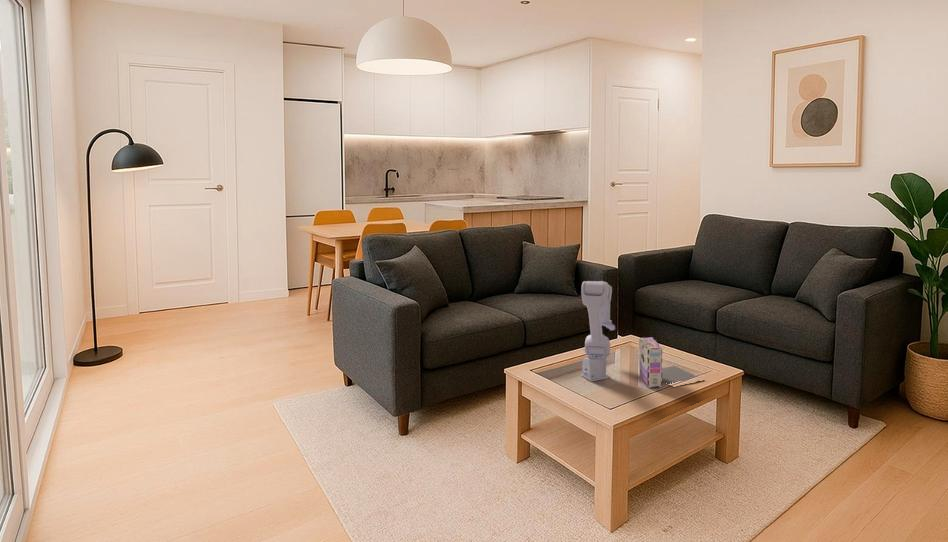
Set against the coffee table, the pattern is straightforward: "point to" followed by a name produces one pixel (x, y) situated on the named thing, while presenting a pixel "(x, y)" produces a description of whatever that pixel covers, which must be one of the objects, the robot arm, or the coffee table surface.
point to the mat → (675, 375)
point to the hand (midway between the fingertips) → (602, 341)
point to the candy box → (650, 362)
